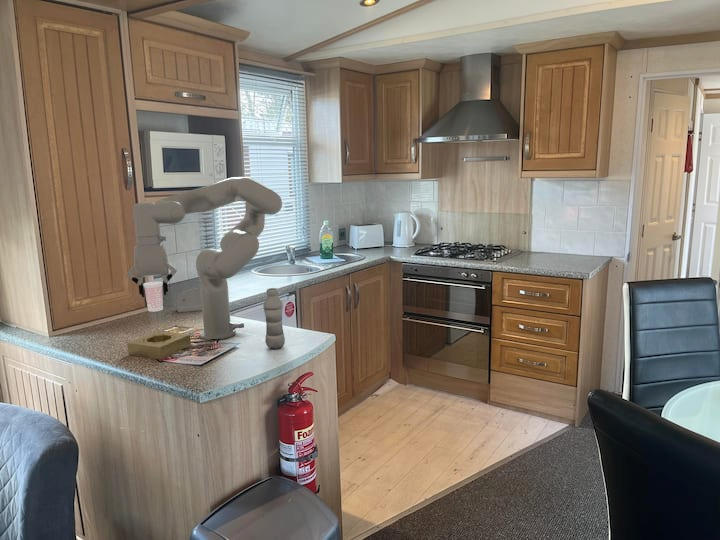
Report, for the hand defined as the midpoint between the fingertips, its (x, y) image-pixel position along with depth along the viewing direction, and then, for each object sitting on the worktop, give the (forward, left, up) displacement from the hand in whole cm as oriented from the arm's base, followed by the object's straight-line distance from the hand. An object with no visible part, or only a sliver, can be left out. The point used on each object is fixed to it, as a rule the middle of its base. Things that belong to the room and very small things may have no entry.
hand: (154, 294), depth 174 cm
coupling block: (0, 0, -19) cm, 19 cm away
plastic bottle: (-36, +15, -19) cm, 44 cm away
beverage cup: (0, 0, -5) cm, 5 cm away
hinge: (-17, -53, -20) cm, 59 cm away
